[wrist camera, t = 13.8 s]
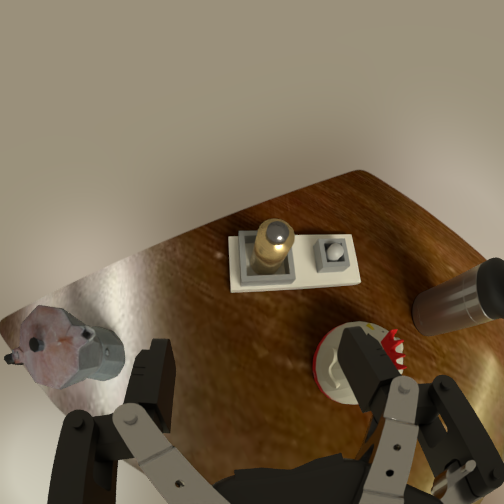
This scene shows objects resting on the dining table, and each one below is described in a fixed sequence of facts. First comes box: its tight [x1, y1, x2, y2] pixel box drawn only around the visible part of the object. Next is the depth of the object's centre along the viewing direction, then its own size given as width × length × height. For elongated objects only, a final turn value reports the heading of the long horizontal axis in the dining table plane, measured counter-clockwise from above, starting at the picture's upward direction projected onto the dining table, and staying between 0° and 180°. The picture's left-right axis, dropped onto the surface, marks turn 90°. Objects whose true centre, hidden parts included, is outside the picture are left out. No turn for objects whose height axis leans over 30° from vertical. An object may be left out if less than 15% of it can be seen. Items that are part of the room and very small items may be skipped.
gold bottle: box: [250, 219, 295, 275], centre depth 38 cm, size 5×5×11 cm
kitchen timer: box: [313, 321, 407, 404], centre depth 33 cm, size 14×14×15 cm
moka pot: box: [4, 305, 125, 389], centre depth 27 cm, size 10×15×20 cm, turn 118°
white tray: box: [228, 231, 361, 292], centre depth 43 cm, size 22×9×6 cm, turn 94°
